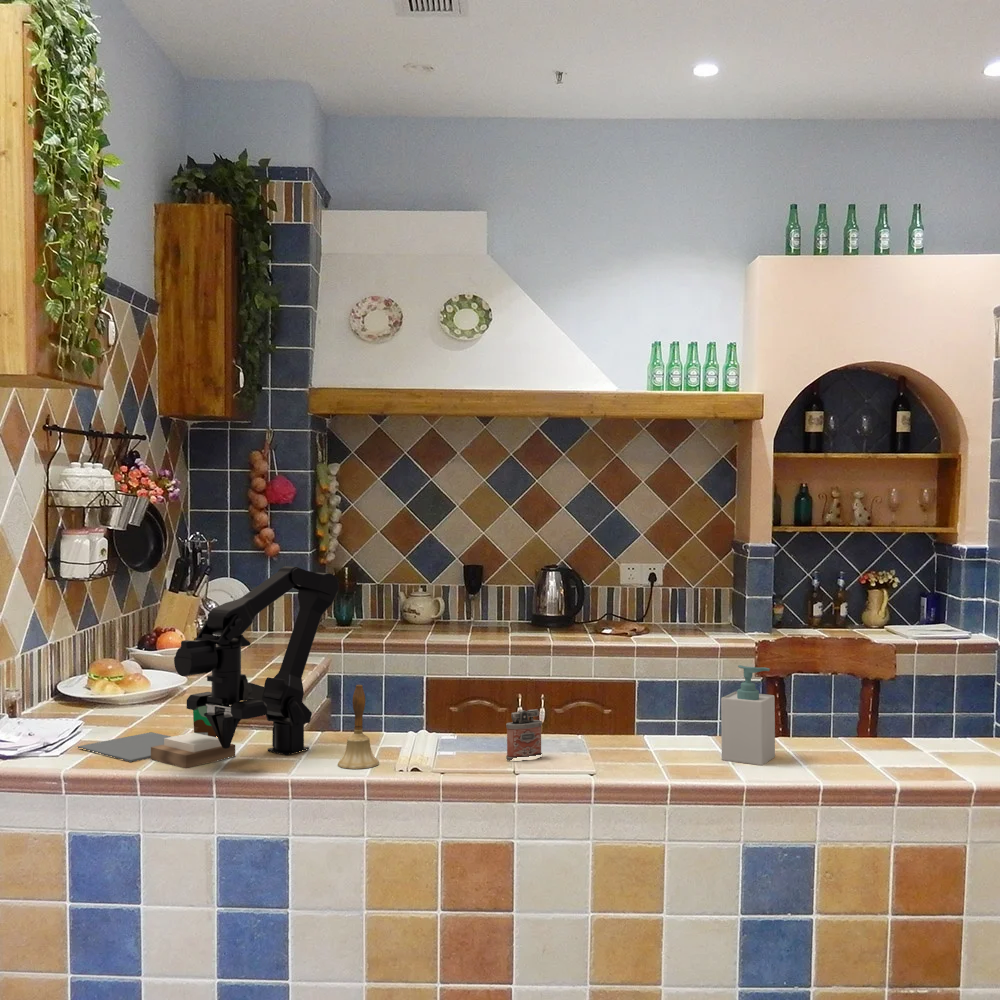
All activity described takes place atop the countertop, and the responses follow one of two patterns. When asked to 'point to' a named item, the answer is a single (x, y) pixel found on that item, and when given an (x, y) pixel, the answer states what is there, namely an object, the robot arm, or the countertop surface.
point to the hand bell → (358, 739)
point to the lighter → (523, 735)
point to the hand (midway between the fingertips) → (226, 748)
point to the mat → (128, 746)
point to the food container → (202, 722)
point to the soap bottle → (748, 723)
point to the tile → (192, 742)
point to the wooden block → (190, 755)
